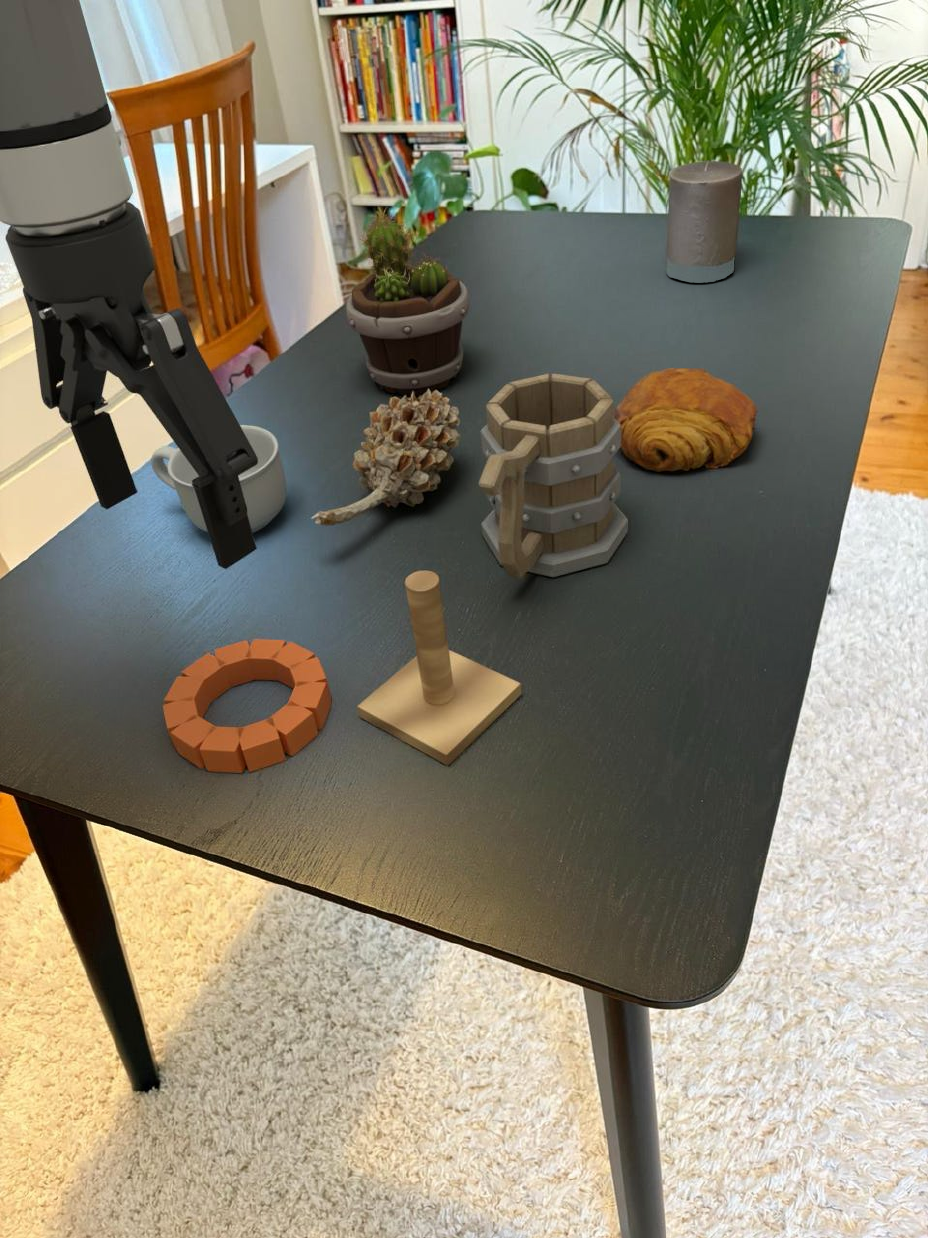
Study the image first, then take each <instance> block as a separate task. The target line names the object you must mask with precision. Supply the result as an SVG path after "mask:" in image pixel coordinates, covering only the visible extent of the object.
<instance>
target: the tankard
mask: <svg viewBox="0 0 928 1238" xmlns="http://www.w3.org/2000/svg"><path fill="white" fill-rule="evenodd" d="M613 398H614V397H613ZM613 398H612V396H611V394H609V393H608V392H607V391H606V390H605V389H604V388H603V387H602V386H601V385H599V383H598V382H597V381H596V380H595V379H591V378H589V377H581V376H574V375H567V374H560V373H559V374H558V373H551V376H550V374H549V373H546V374H545V373H544V374H541V375H537V376H532V377H527V378H524V379H523V378H522V379H518V380H514V381H510V382H508V383H506V384H505V385H504V386H503V387H502V388H501V389H500V390H499V391H498V392H497V393H496V394H495V395H494V396H493V397H492V398H490V400H489V401H488V402H487V403H486V404H485V412H486V413H485V414H486V424H485V425H484V426H483V427H482V429H481V430H480V441H481V449H482V450H481V451H482V453H483V455H484V456H485V457H486V460H487V461H486V463H485V466H484V468H483V471H482V473H481V474H480V475H481V476H480V478H479V481H478V487H479V488H480V489H481V491H482V492H483V493H484V494H485V495H486V499H487V501H488V502H489V504H490V505H491V507H492V509H493V510H492V511H491V512H490V513H489V514H488V515H487V516H486V518H484V520H483V521H482V522H481V523H480V525H481V534H482V537H483V538H484V540H485V542H486V543H487V545H488V547H489V548H490V550H491V552H492V553H493V555H494V557H495V559H496V560H497V562H498V564H499V565H500V566H502V567H503V568H504V570H505V572H506V573H507V575H508V576H509V577H510V578H514V579H522V577H523V576H524V575H525V574H527V572H529V573H533V574H537V575H541V576H545V577H549V578H556V577H561V576H564V575H567V574H571V573H572V574H573V573H575V572H579V571H582V570H586V569H589V568H593V567H597V566H601V565H605V564H607V563H609V562H610V560H611V558H612V557H613V555H614V553H615V552H616V550H617V549H618V548H619V546H620V544H621V543H622V541H623V540H624V538H625V537H626V535H627V534H628V532H629V518H627V517H626V515H625V514H624V512H622V510H620V508H619V507H618V505H616V503H615V502H616V500H617V499H618V498H619V496H620V495H621V482H622V481H621V480H622V479H621V472H619V470H618V469H617V468H616V467H615V465H614V456H615V455H616V454H617V452H618V451H619V449H621V425H620V424H619V423H618V422H617V421H616V420H615V418H614V399H613Z"/></svg>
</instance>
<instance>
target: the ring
mask: <svg viewBox="0 0 928 1238" xmlns="http://www.w3.org/2000/svg"><path fill="white" fill-rule="evenodd" d="M249 643H250V642H249V641H248V639H245V640H241V641H239V642H234V643H232V644H229V645H225V646H222V647H218V648H216V649H214V650H213V652H214V655H213V654H211V653H210V652H207V653H205V654H204V655H202V656H200V658H199V659H197V660H195V661H194V662H193V663H191V664H190V665H189V666H187V667H186V668H184V669H183V670H182V671H181V672H180V673H181V675H182V676H181V675H178V676H176V678H175V680H174V681H173V683H172V685H171V686H170V689H169V690H168V691H167V694H166V696H165V697H164V700H163V702H164V704H163V705H162V709H163V714H164V720H165V724H166V725H165V726H166V729H167V731H168V734H169V737H170V739H171V741H172V744H173V747H174V749H175V750H176V751H177V753H178V755H180V756H181V757H182V758H184V759H186V760H187V761H189V762H190V763H192V764H193V765H195V766H196V767H198V768H199V769H200V770H202V769H204V768H206V770H207V772H215V773H233V774H234V773H235V774H243V773H244V771H245V769H246V767H247V769H248V772H249V773H252V772H255V771H258V770H261V769H265V768H267V767H270V766H273V765H276V764H279V763H282V762H285V761H287V758H286V755H285V753H286V754H287V755H289V756H291V757H294V756H295V755H296V754H297V753H298V752H300V751H301V750H302V749H304V748H305V746H307V745H308V744H309V743H311V741H313V740H314V739H315V738H316V737H318V735H319V730H322V731H323V728H324V726H325V723H326V720H327V718H328V715H329V712H330V710H331V707H332V695H331V691H330V687H329V682H328V679H327V676H326V674H325V671H324V669H323V666H322V664H321V662H320V658H319V656H315V653H314V652H312V651H310V650H308V649H306V648H305V647H302V646H301V645H299V644H297V643H295V642H293V641H289V642H287V640H286V639H265V638H253V639H252V641H251V644H249ZM255 680H256V681H258V680H259V681H278V682H281V683H283V684H284V685H286V686H288V687H289V688H291V689H292V692H291V695H290V697H289V699H288V702H287V703H286V704H285V705H283V706H282V707H281V708H280V709H279V710H277V711H276V712H275V713H274V714H272V715H271V716H270V717H268V718H265V719H263V720H260V721H258V722H253V723H251V724H247V725H245V726H241V727H237V726H236V727H235V726H218V725H217V726H215V725H214V724H212V723H211V722H209V721H207V720H206V719H204V717H205V715H206V713H207V711H208V709H209V707H210V704H211V703H212V702H213V701H214V700H216V699H217V698H219V697H220V696H221V695H222V694H223V693H225V692H226V691H228V690H229V689H230V688H232V687H233V688H234V687H236V686H239V685H242V684H246V683H248V682H252V681H255Z"/></svg>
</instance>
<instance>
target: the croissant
mask: <svg viewBox="0 0 928 1238" xmlns="http://www.w3.org/2000/svg"><path fill="white" fill-rule="evenodd" d="M758 412H759V411H758V408H757V406H756V405H755V403H754V401H753V400H752V399H751V398H750V397H749V396H748V395H747V394H745V393H744V392H742V391H741V390H739V389H738V388H737V387H736V386H735V385H734V384H731V383H729V382H728V381H725V380H723V379H721V378H719V377H716V376H713V375H711V374H709V373H708V372H707V371H706V369H702V368H684V367H683V368H676V367H670V368H667V369H663V370H659V371H656V370H655V371H653V372H650V373H648V374H646V375H644V376H643V377H642V378H641V379H639V380H638V381H637V382H636V383H634V385H633V386H631V387H630V388H629V390H628V391H627V392H626V394H625V396H624V397H623V399H622V400H621V401H620V402H619V403H618V404H617V407H616V408H615V411H614V414H613V417H614V418H615V420H616V421H617V422H618V423H619V424H620V425H621V447H620V449H621V450H622V452H623V454H624V455H625V456H626V458H628V459H629V460H631V461H633V463H635V464H637V465H638V466H640V467H642V468H643V469H645V470H651V471H653V472H658V473H659V472H666V471H669V472H675V471H679V470H681V471H686V472H687V471H689V470H690V469H693V470H695V469H699V468H701V467H702V466H704V467H705V469H718V468H719V467H724V466H727V465H729V463H731V462H732V461H734V460H735V459H737V458H738V457H740V456H741V455H742V454H743V453H744V452H745V451H746V450H747V448H748V446H749V445H750V443H751V441H752V438H753V436H754V430H755V429H756V428H755V427H756V425H755V421H756V417H757V414H758Z"/></svg>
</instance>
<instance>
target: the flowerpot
mask: <svg viewBox="0 0 928 1238" xmlns="http://www.w3.org/2000/svg"><path fill="white" fill-rule="evenodd" d="M377 206H378V210H379V211H376V210H375V212H376V213H377V215H378V216H376V215H371V217H374V218H373V220H371V217H368V221H369V223H368V224H366V226H367V228H366V229H365V232H366V233H362V234H360V235H359V237H362V238H364V239H361V238H359V239H360V241H363V243H362V245H363V246H365V249H366V250H365V249H364V248H362V251H363V252H361V253H360V254H361V255H363V254H364V255H365V256H362V257H363V258H365V259H364V261H367V260H368V259H370V260H372V262H370V263H371V264H370V263H368V266H369V267H370V268H368V269H367V271H370V275H368V276H367V277H366V278H365V279H364V281H363V282H359V283H357V284H356V285H355V286H354V287H353V288H352V289H351V294H350V296H349V297H348V299H347V301H346V306H345V313H346V319H347V322H348V324H349V326H350V328H351V329H352V330H353V331H355V332H356V333H358V334H359V337H360V340H361V342H362V345H363V347H364V350H365V351H366V354H367V356H366V359H365V365H366V368H367V371H368V373H369V375H370V378H371V379H372V380H373V381H374V382H375V383H377V385H378V386H379V387H380V389H382V390H385V391H386V392H388V393H390V394H391V393H392V394H396V393H399V395H404V396H405V395H406V396H411V394H412V392H413V391H414V394H415V396H416V395H423V394H424V393H426V392H427V390H428V388H429V390H430V391H431V393H433V392H434V391H435V390H437V389H443V388H444V387H445V388H446V386H447V385H448V384H449V383H450V381H451V379H455V378H456V377H457V374H458V373H459V371H460V370H461V368H462V364H463V358H464V348H463V346H462V344H461V337H462V336H461V335H462V329H463V320H464V319H465V318H466V316H467V315H468V312H469V310H470V296H469V292H468V288H467V287H466V286H465V284H464V283H463V282H462V281H460V279H459V278H458V277H453V275H452V274H451V272H450V271H449V270H448V265H446V267H443V266H442V265H441V264H440V263H439V257H437V258H435V259H434V258H432V257H430V255H431V253H429V254H428V255H426V254H425V253H424V252H423V251H421V253H422V256H423V257H424V258H423V259H422V258H420V260H417V261H409V260H411V259H414V257H415V254H413V253H417V252H418V251H412V249H413V245H412V244H411V243H410V242H411V240H413V239H415V238H414V237H413V235H412V234H409V231H408V230H407V229H408V228H407V227H405V224H406V221H404V222H403V223H401V220H400V219H398V222H399V223H397V221H396V220H392V218H393V215H394V214H390V213H389V212H387V214H385V213H386V210H387V208H388V206H386V207H385V209H384V211H383V213H382V211H381V208H380V206H379V205H377ZM405 228H406V229H405ZM404 229H405V231H403V230H404ZM368 231H369V232H368ZM411 237H412V238H411ZM409 241H410V242H409ZM440 260H443V259H442V258H441V257H440ZM417 263H418V264H417ZM421 263H422V264H421ZM414 264H415V265H414ZM373 271H374V272H373Z"/></svg>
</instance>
